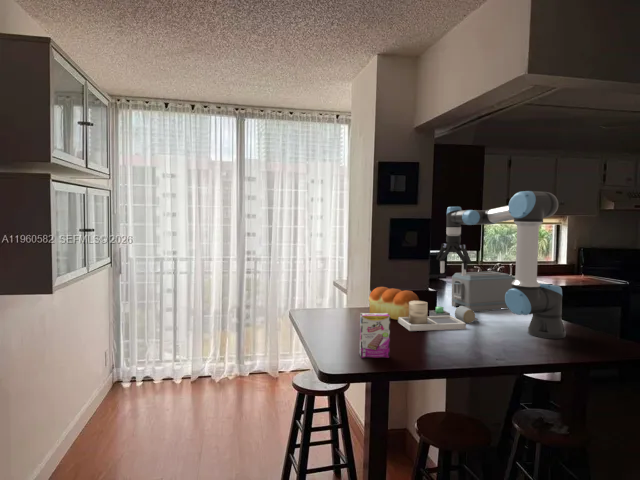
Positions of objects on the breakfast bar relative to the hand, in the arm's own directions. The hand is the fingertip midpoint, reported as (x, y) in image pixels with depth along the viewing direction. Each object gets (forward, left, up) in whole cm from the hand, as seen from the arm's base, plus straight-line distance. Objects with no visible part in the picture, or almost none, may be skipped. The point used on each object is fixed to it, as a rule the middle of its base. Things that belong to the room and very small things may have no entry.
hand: (452, 274), depth 235 cm
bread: (+4, +32, -23) cm, 40 cm away
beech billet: (-20, +27, -21) cm, 39 cm away
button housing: (-6, +10, -23) cm, 25 cm away
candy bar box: (-62, +61, -23) cm, 90 cm away
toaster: (+18, -25, -23) cm, 39 cm away
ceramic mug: (-14, -1, -23) cm, 27 cm away
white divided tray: (-20, +20, -23) cm, 36 cm away
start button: (-6, +10, -21) cm, 24 cm away
